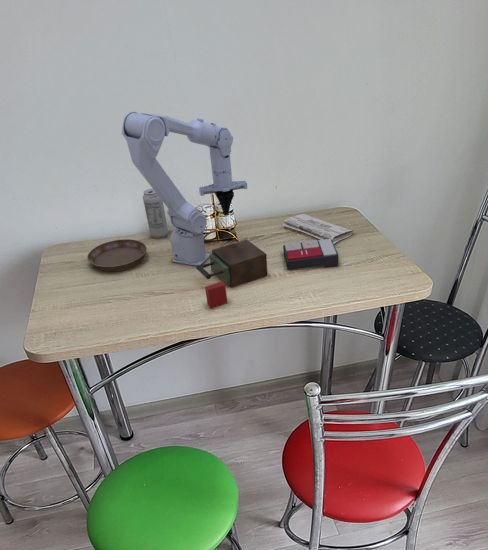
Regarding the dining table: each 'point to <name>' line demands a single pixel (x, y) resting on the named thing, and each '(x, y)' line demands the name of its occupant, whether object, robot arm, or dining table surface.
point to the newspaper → (317, 228)
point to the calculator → (310, 254)
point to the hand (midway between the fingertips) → (226, 214)
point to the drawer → (216, 269)
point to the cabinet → (243, 261)
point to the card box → (216, 294)
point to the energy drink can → (155, 214)
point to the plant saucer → (117, 254)
